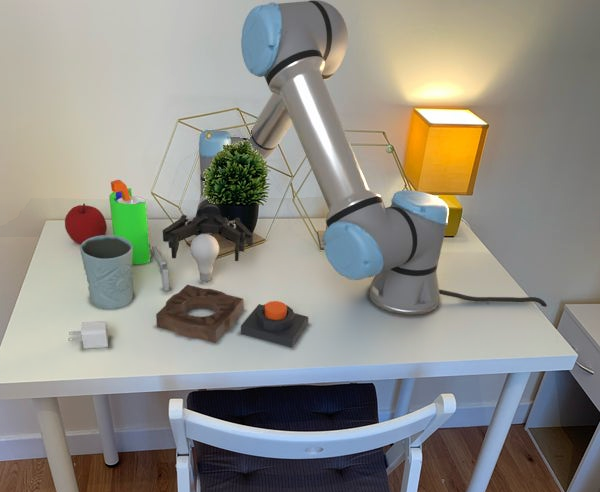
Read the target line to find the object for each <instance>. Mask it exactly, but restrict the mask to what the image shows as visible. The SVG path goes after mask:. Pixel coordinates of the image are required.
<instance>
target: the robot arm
mask: <svg viewBox="0 0 600 492" xmlns="http://www.w3.org/2000/svg"><path fill="white" fill-rule="evenodd" d="M348 35H349V33H348V28H347V23H346V21H345V19H344V17H343V15H342V14H341V13H340V11H339V10H338V9H337V8H336V7H335V6H334V5H332V4H330V3H328V2H326V1H323V0H308V1H307V0H306V1H305V0H303V1H294V2H293V1H292V2H282V3H281V2H280V3H277V2H274V1H273V2H269V3H267V4H260V5H256V6H255V7H253V8H252V9H250V11H249V12H248V13H247V15H246V17H245V19H244V22H243V26H242V30H241V40H240V43H241V47H240V48H241V54H242V59H243V63H244V65H245V67H246V69H247V70H248V72H249V73H250V74H252V75H253V76H255V77H258V78H262V77H264V79H265V82H266V84H267V86H268V89H269V91H270V92H271V93H272V94H271V95H270V97H269V99H268V100H267V102H266V104H265V105H264V107H263V109H262V110H261V112H260V113H259V115H258V116H257V118H256V120H255V121H254V123H257V124H255V125H254V124H253V125H254V126H253V125H252V126H253V128H252V127H251V128H252V130H251V134H252V137H250V139H248V138H240V137H231V134H230V132H229V131H227V130H225V131H215V130H208V129H205V130H203V131H201V133H200V134H199V139H198V154H199V170H200V175H199V176H200V178H199V180H200V181H199V182H200V185H199V186H200V195H199V201H198V205H197V209H196V213H195V216H194V217H193V218H189V217H188V216H187V215H186V214H181V216H180V218H179V219H178V220H176V221H174V222H173V223H171V224H170V225H168V226H167V227H165V228H164V229H162V230H161V231H162V241H163V243H164V242H165V243H166V242H168V248H169V249H170V251H171V259H176V258H177V254H178V251H179V246H180V242H181V241H184V240H186V239H189V238H190V237H191V238H192V237H193V236H195V237H196V236H198V235H200V234H212V235H219V236H220V237H222V238H226V239H228V240H229V241H231V242H233V243H234V244H235V245H234V262H239V260H240V259H239V258H240V252H245V250H246V249H245V247H246V246H249V247H252V246H253V245H254V234H253V233H252V232H251V230H249V229H248V228H247V227H246V226H245V225H244V224H243V223H242V221H241V218H240V217H235V218H234V219H233V220H229V218H228V219H227V218H226V217H223V216H222V215H221V213H220V210H219V208H218V207H217V205H216V204H212V203H209V201H208V200H207V199H206V197H204V196H203V189H204V185H203V183H204V182H203V181H205V178H204V176H203V172H204V170H205V169H206V168H209V167H210V164H211V161H212V160H213V158H214V156H215V155H216V154H217V153H218V152H220V151H222V150H223V145H227V144H228V145H231V144H233V143H235V142H238V141H244V140H248V141H249V142H250V143H251V144H252V148H253V150H255V149H256V147H257V150H259V152H260V153H261V155H262V156H263V158H264V159H266V158H267V157H268V156H269V155H270V154H271V153H272V152H273V151H274V150H275V148H276V147H277V145H278V144H279V142H280V141H281V140H282V141H283V138H284V137H285V135H286V134H287V133H288V131H289V130H290V128H291V127H292V126H293V127H294V130H295V132H296V135H297V137H298V139H299V142H300V145H301V147H302V149H303V151H304V154H305V156H306V158H307V161H308V163H309V166H310V168H311V171H312V172H313V173H312V174H313V175H314V178H315V179H316V182H317V184H318V188H319V190H320V192H321V194H322V196H323V199H324V202H325V203H326V206H327V209H328V212H327V215H326V217H325V224H326V227H327V228H326V230H325V232H324V233H323V242H324V244H323V250H324V253H325V256H326V259H327V260H328V263H329V264H330V266H331V267H332V268H333V269H334V271H336V273H338V274H339V275H340V276H342V277H345V278H346V279H348V280H352V281H360V280H364V279H367V278H373V279H372V280H371V284H370V286H369V291H368V292H369V293H368V295H369V298H370V300H371V301H372V303H373V304H374V305H376V306H377V307H378V308H379V309H382V310H384V311H386V312H388V313H392V314H395V315H399V316H407V317H409V316H411V317H412V316H413V317H415V316H421V315H426V314H429V313H431V312H433V311H434V310H436V308H437V307H438V304H439V300H440V295H444V296H447V297H448V296H449V297H453V298H457V299H461V300H464V301H469V302H482V303H483V302H484V303H485V302H498V303H499V302H502V303H504V302H505V303H507V302H511V303H527V302H528V303H529V302H532V303H533V302H534V303H538V304H540V305H541V306H542V307H544V308H546V307H548V305H547V302H546V301H545V300H543V299H541V298H540V297H536V296H524V297H514V296H512V297H511V296H471V295H466V294H462V293H459V292H454V291H450V290H445V289H440V285H439V279H438V271H437V270H438V266H439V261H440V257H441V253H442V247H443V243H444V238H445V235H446V228H447V226H448V223H449V222H448V220H449V213H450V209H449V206H448V204H447V203H446V202H445V201H444V200H443V199H442V198H439V197H437V196H436V195H432V194H430V193H427V192H423V191H419V190H410V189H404V190H398V191H395V192H394V193H393V195H392V198H391V200H390V201H391V205H390V206H387V207H386V206H385V203H384V201H383V197H382V196H381V195H380V194H379V193H376V192H373V191H371V189H370V188H369V186H368V184H367V181H366V178H365V176H364V174H363V172H362V169H361V167H360V164H359V162H358V159H357V157H356V154H355V152H354V150H353V147H352V145H351V142H350V140H349V138H348V136H347V133H346V130H345V128H344V125H343V124H342V121H341V117H340V116H339V113H338V111H337V109H336V107H335V104H334V102H333V99H332V97H331V95H330V92H329V90H328V87H327V85H326V83H325V81H328V80H329V79H331V78H332V77H333V75H334V74H335V73H336V72H337V70H338V68H340V66H341V64H342V62H343V60H344V58H345V55H346V52H347V49H348V43H349V36H348ZM210 131H211V132H212V136H211V139H208V140H206V139H205V137H206V134H205V133H206V132H210ZM254 143H255V144H254ZM255 146H256V147H255Z"/></svg>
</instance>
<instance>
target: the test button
mask: <svg viewBox="0 0 600 492" xmlns="http://www.w3.org/2000/svg"><path fill="white" fill-rule="evenodd" d="M265 304H266V305H265ZM265 304H264V305H265V312H264V314H265V316H266V317H267V318H269V319H273V320H280V319H283V318H285V317H286V315H287V306H288V305H287V304H286V303H284V302H283V301H280V300H271V301H268V302H266V303H265ZM286 305H287V306H286Z"/></svg>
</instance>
